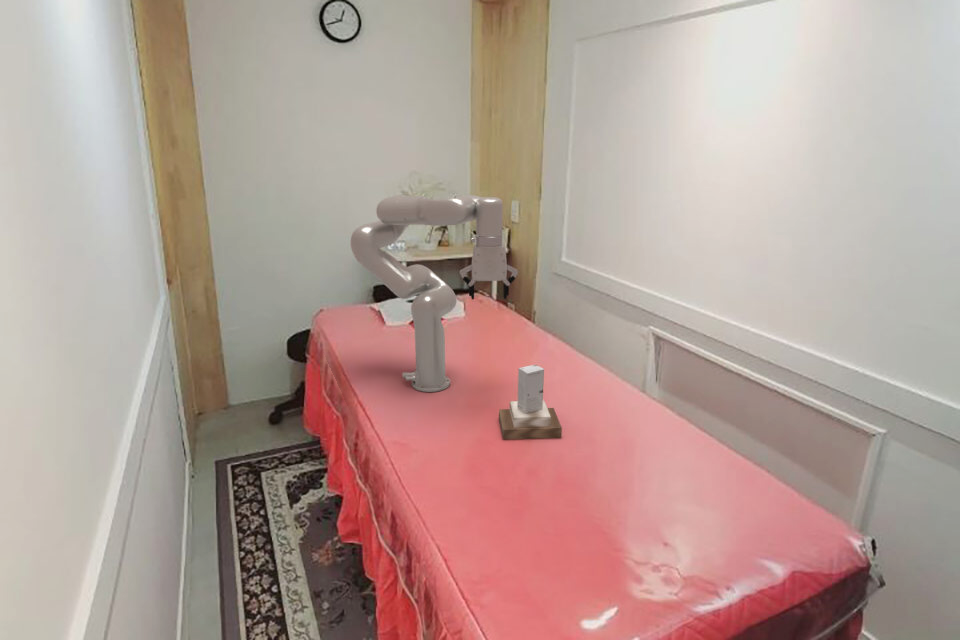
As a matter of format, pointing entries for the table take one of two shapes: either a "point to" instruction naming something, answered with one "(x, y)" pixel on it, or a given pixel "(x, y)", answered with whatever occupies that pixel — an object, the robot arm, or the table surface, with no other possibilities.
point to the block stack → (529, 423)
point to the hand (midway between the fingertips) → (488, 297)
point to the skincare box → (530, 388)
